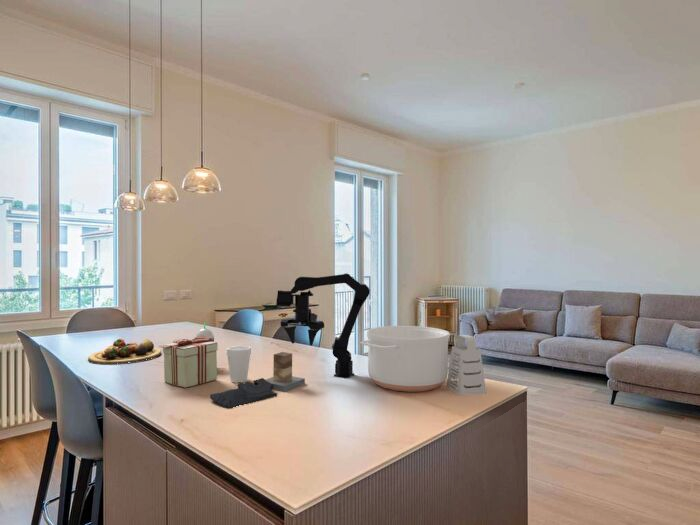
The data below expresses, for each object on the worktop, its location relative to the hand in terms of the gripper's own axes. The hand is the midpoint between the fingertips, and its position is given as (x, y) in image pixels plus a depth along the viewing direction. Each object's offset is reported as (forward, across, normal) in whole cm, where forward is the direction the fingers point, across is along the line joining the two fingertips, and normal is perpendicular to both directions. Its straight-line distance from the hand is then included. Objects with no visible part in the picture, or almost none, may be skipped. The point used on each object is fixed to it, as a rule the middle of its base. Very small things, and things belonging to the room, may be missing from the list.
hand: (302, 344), depth 179 cm
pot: (+13, -42, -12) cm, 46 cm away
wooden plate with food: (+13, +96, +16) cm, 98 cm away
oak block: (+11, -2, +15) cm, 18 cm away
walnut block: (+6, -2, +15) cm, 16 cm away
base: (+13, -2, +15) cm, 20 cm away
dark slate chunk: (+14, +1, +33) cm, 36 cm away
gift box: (+13, +34, +30) cm, 47 cm away
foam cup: (+13, +17, +19) cm, 29 cm away
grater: (+13, -64, -15) cm, 67 cm away
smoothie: (+13, +46, +10) cm, 49 cm away
